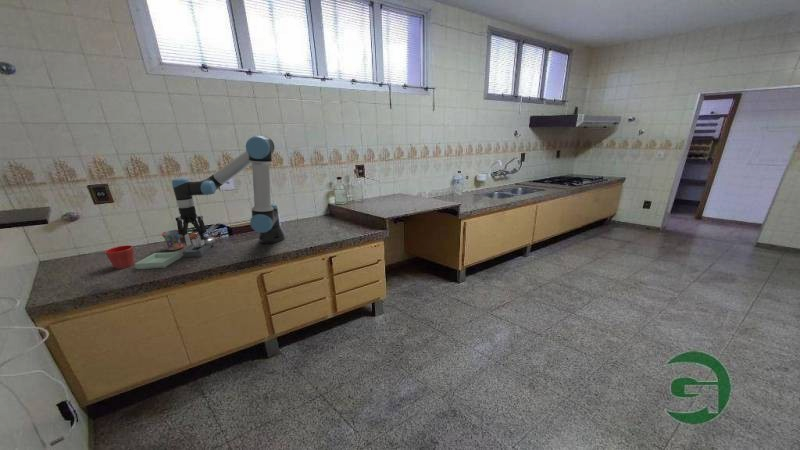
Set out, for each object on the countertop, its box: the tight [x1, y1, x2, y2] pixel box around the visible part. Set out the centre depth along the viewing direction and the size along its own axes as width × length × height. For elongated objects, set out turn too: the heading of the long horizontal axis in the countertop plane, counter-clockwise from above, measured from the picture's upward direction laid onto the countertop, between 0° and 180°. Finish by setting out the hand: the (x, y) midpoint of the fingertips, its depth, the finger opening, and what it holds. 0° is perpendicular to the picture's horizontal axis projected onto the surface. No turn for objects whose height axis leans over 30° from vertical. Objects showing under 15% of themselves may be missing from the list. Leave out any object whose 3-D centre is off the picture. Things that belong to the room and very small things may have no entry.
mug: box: [160, 229, 184, 251], centre depth 181 cm, size 12×9×11 cm
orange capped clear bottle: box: [188, 232, 199, 250], centre depth 172 cm, size 4×4×12 cm
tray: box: [134, 251, 183, 270], centre depth 161 cm, size 14×14×3 cm
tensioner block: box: [181, 235, 216, 258], centre depth 177 cm, size 10×20×7 cm, turn 3°
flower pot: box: [104, 244, 135, 270], centre depth 157 cm, size 11×11×10 cm
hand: (195, 245), depth 172 cm, fingers open, 7 cm apart
